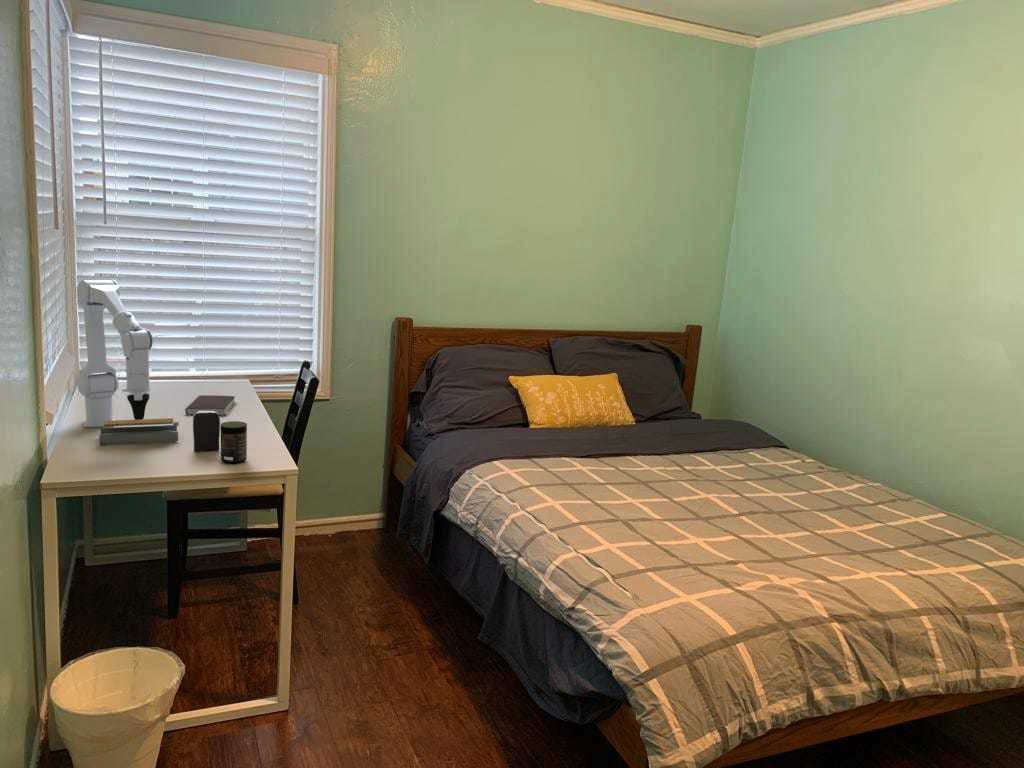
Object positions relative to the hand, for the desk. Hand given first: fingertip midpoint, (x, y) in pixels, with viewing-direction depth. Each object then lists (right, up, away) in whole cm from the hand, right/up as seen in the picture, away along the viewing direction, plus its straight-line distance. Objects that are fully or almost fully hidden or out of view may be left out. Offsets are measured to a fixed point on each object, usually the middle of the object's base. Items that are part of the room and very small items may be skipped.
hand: (139, 419), depth 217 cm
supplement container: (+30, -11, -9) cm, 34 cm away
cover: (-1, -1, +2) cm, 3 cm away
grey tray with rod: (-2, -6, +3) cm, 7 cm away
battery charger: (+20, -9, -1) cm, 22 cm away
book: (+3, +1, +44) cm, 44 cm away
